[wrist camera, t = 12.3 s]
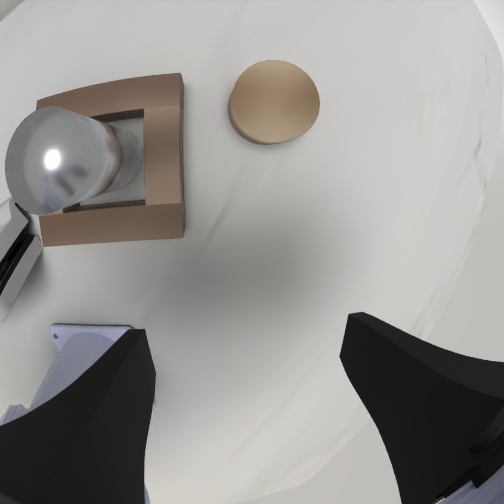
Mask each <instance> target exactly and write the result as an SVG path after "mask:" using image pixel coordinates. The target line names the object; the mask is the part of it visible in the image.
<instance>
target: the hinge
mask: <svg viewBox="0 0 504 504" xmlns="http://www.w3.org/2000/svg"><path fill="white" fill-rule="evenodd" d="M15 203H16V201H15V200H14V199H13V197H12V196H11V197H10V198H8V199H7V200H6V201H4V202H3V203H2V204H1V205H0V323H1V322H3V321H4V319H5V318H6V317H7V316H8V314H9V313H10V311H11V308H12V306H13V304H14V302H15V300H16V298H17V296H18V294H19V292H20V290H21V288H22V286H23V284H24V282H25V280H26V278H27V276H28V274H29V272H30V271H31V269H32V267H33V265H34V263H35V262H36V260H37V258H38V257H39V255H40V253H41V251H42V250H43V249H42V245H41V242H40V240H39V237H38V235H37V236H35V237H34V238H33V237H32V235H29V236H28V237H26V238H24V239H23V240H21V238H22V237H23V236H24V234H25V233H26V231H27V230H28V229H27V228H26V224H27V223H28V222H29V221H28V220H27V219H26V218H25V217H24V215H23V214H22V213H21V212H20V211H19V209H18V208H17V207H16V206H15ZM20 240H21V241H20ZM19 241H20V242H19Z"/></svg>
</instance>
